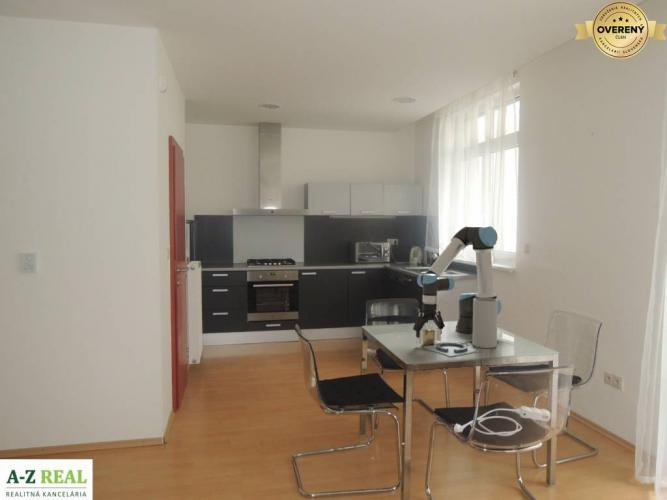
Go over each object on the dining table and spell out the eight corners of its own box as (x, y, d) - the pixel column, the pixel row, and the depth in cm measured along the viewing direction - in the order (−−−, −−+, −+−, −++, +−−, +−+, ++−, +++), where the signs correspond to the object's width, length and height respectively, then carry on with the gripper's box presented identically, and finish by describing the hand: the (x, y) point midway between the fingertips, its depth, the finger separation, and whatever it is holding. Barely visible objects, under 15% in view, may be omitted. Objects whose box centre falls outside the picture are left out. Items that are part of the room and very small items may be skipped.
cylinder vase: (482, 349, 258) (483, 302, 256) (467, 344, 270) (468, 298, 268) (501, 347, 263) (502, 300, 261) (486, 341, 274) (487, 297, 273)
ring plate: (452, 343, 271) (452, 342, 271) (479, 351, 254) (479, 350, 254) (424, 347, 261) (424, 346, 261) (450, 357, 244) (450, 355, 244)
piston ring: (452, 343, 269) (452, 340, 269) (474, 350, 254) (474, 347, 254) (428, 347, 261) (428, 344, 260) (450, 354, 246) (450, 351, 246)
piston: (429, 343, 272) (429, 328, 271) (437, 345, 266) (437, 330, 265) (420, 344, 268) (420, 329, 268) (427, 347, 263) (428, 331, 262)
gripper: (442, 300, 275) (441, 337, 276) (406, 303, 262) (406, 343, 264) (451, 302, 268) (451, 340, 270) (415, 305, 256) (415, 346, 257)
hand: (428, 341), depth 267 cm, fingers open, 13 cm apart
